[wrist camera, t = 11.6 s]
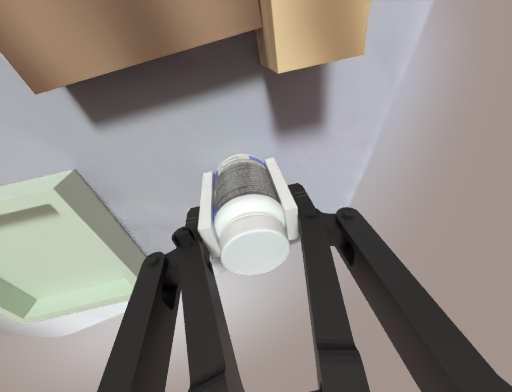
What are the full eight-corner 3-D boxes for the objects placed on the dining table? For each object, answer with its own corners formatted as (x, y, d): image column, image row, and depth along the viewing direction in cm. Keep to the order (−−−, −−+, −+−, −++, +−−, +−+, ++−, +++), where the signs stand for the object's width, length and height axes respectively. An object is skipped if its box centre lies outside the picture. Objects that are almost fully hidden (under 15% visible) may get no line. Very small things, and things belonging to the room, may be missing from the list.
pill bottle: (202, 171, 17) (193, 251, 11) (251, 141, 17) (274, 209, 10) (234, 207, 20) (242, 289, 13) (277, 183, 19) (309, 259, 13)
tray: (39, 300, 24) (22, 325, 22) (-111, 211, 16) (-161, 237, 14) (158, 272, 24) (153, 294, 22) (74, 169, 16) (52, 188, 14)
